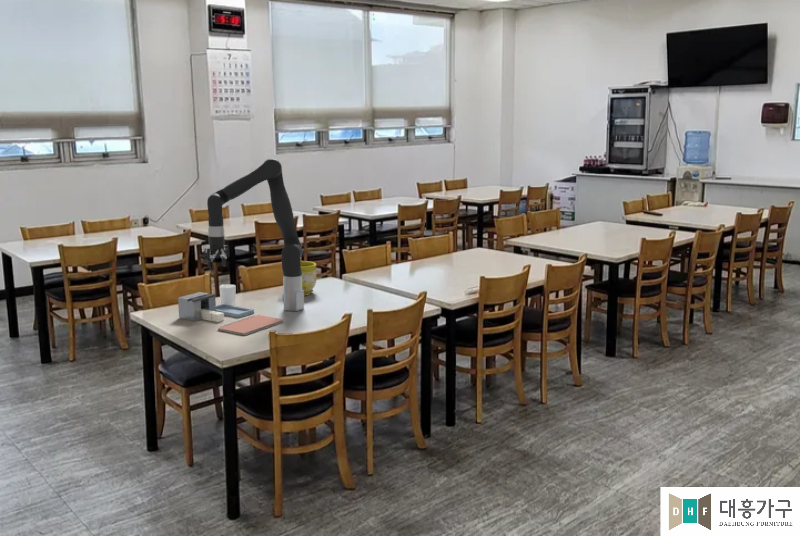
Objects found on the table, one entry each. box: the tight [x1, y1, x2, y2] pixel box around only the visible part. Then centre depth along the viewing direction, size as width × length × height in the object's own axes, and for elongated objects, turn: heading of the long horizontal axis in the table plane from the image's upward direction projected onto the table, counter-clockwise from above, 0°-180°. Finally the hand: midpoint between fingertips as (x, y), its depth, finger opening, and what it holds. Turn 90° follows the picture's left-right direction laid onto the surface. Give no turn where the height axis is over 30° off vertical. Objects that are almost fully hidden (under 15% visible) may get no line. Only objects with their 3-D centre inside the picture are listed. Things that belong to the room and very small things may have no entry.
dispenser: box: [177, 291, 217, 322], centre depth 347 cm, size 10×14×10 cm
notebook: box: [217, 314, 285, 336], centre depth 334 cm, size 27×17×2 cm, turn 150°
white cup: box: [219, 283, 237, 306], centre depth 369 cm, size 8×8×10 cm
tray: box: [216, 304, 255, 319], centre depth 356 cm, size 20×11×2 cm, turn 60°
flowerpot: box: [300, 260, 317, 296], centre depth 397 cm, size 18×18×16 cm
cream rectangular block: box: [200, 309, 225, 323], centre depth 344 cm, size 14×4×4 cm, turn 60°
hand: (217, 267), depth 357 cm, fingers open, 8 cm apart
